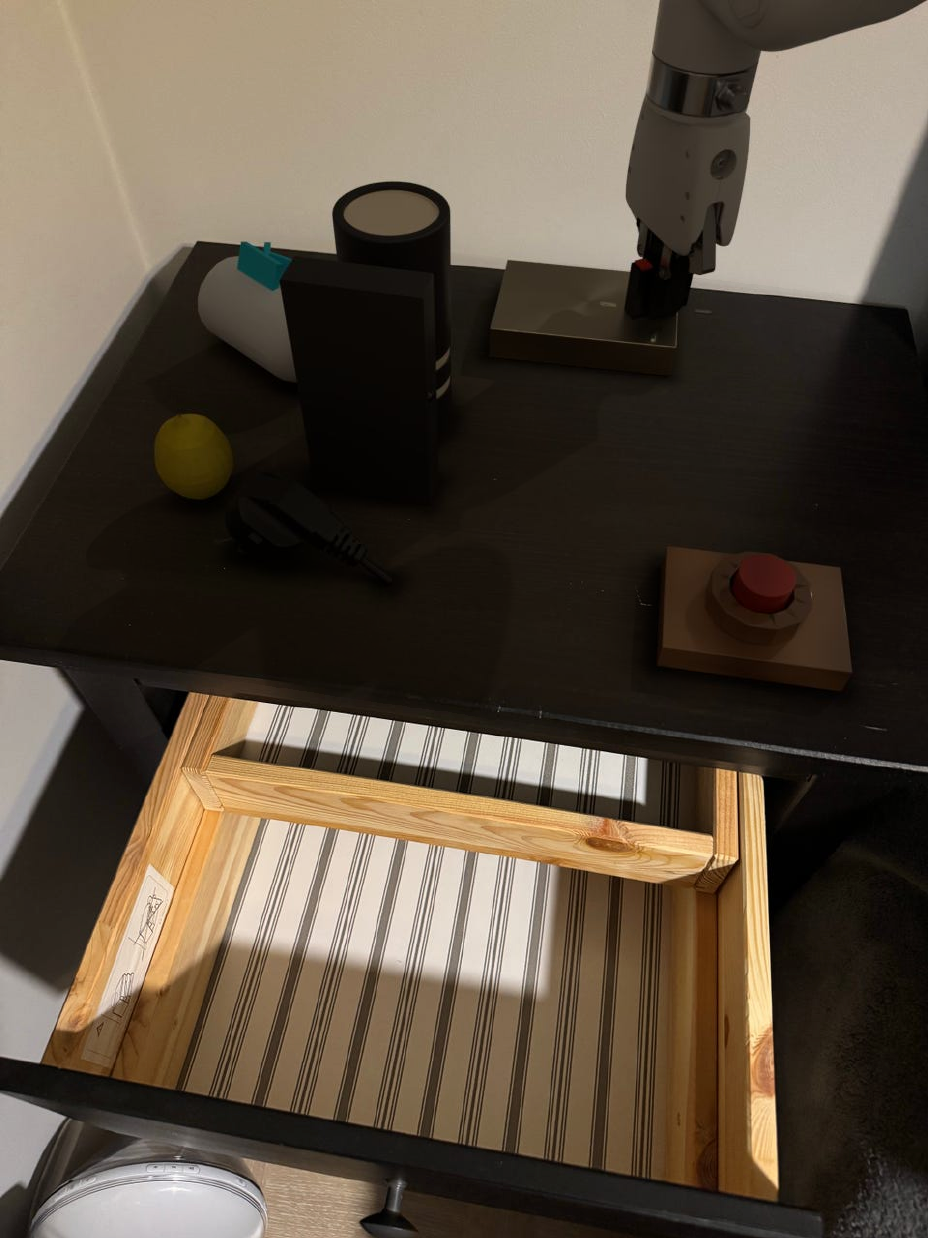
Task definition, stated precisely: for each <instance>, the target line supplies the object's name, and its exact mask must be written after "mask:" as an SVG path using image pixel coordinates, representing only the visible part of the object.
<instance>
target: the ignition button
mask: <svg viewBox="0 0 928 1238" xmlns="http://www.w3.org/2000/svg"><path fill="white" fill-rule="evenodd" d="M779 558H780V557H779ZM779 558H776V557H774V556H770V555H754V556H751V557H748V558H747V559H745V560H744V561H743V562H742V563H741V565H740V567H739V570H738V572H737V575H736V578H735V580H734V583H733V593H734V596H735V598H736V599H737V601H738V602H739V603H740V604H741V605H742V606H744V607H745V608H747V609H749V610H751V611H754V612H757V613H764V614H767V613H774V612H777V611H779V610H781V609H782V608H783V607H784V606H785V605H786V603H787V601H788V599H789V597H790V595H791V593H792V591H793V588H794V586H795V583H796V578H795V574H794V572H793V570H792V569H791V567H790V566H789V565H788V564H787V563H785V562H784V561H782V560H781V559H782V558H781V559H779Z"/></svg>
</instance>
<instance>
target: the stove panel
mask: <svg viewBox="0 0 928 1238" xmlns="http://www.w3.org/2000/svg"><path fill="white" fill-rule="evenodd" d="M629 276H630V270H629V271H628V270H627V271H626V270H617V269H606V268H598V267H597V268H596V267H587V266H586V267H585V266H576V265H567V264H554V263H546V262H535V261H534V262H533V261H526V260H525V261H523V260H516V259H515V260H513V259H507V260H506V265H505V269H504V272H503V276H502V281H501V284H500V288H499V291H498V292H499V293H498V296H497V300H496V304H495V307H494V312H493V316H492V320H491V323H490V327H489V349H488V350H489V353H488V356H489V358H496V359H507V360H515V361H525V362H533V363H544V364H552V365H561V366H570V367H582V368H589V369H598V370H600V369H601V370H607V371H608V370H609V371H617V372H625V373H637V374H646V375H654V376H663V377H670V376H671V373H672V370H673V365H674V360H675V356H676V351H677V340H678V319H679V315H678V313H679V311H678V312H675V313H671V314H667V315H663V316H660V317H656V318H650V317H649V316H648V315H647V316H643V317H639V318H635V319H632V318H631V317H630V316H629V314H628V313H627V312H626V311H625V310H624V306H625V300H626V294H627V288H628V282H629ZM694 314H699V315H701V314H702V315H711V314H712V310H706V309H697V308H695V309H694Z"/></svg>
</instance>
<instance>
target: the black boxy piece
mask: <svg viewBox="0 0 928 1238" xmlns="http://www.w3.org/2000/svg"><path fill="white" fill-rule="evenodd" d="M680 256H682V255H680V254H678V253H677V254H676V258H678V257H680ZM661 258H662V256H658V257H654V258H650V259H646V258H643V259H642V258H638V259H635V260H634V262H631V263H630V264H631V265H630V270H629V272H630V276H629V282H628V288H627V294H626V300H625V306H624V310H625V311H626V312H627V313H628V314H629V316H630V317H631V318H632V319H635V318H639V317H643V316H647V306H648V301H649V295H650V290H651V285H652V279H653V275H654V274H657V273H659V268H660V263H661ZM676 258H675V259H676ZM694 275H695V274H688V279H687V284H686V288H685V293H684V297H683V302H682V306H681V308H683V307H686V306H687V305H688V302H689V297H690V293H691V287H692V284H693V279H694Z"/></svg>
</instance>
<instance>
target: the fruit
mask: <svg viewBox="0 0 928 1238" xmlns="http://www.w3.org/2000/svg"><path fill="white" fill-rule="evenodd" d="M153 445H154V450H153V451H154V453H153V457H154V458H153V459H154V464H155V469H156V472H157V473H158V476H159V477H160V479H161V480H162V481H163V482H164V484H165V485H166V487H168V488H169V489H170V490H171V491H173V492H175V493H176V494H177V495H179V496H181V497H183V498H186V499H191V500H199V501H204V500H206V499H208V498H212V497H214V496H215V495H217V494H219V493H220V492H221V491H222V490H223V489H224V488H225V487H226V485H227V484H228V482H229V481H230V478H231V475H232V473H233V468H234V459H233V457H234V456H233V450H232V447H231V444H230V442H229V439H228V438H227V437H226V435H225V433H224V432H223V431H222V430H221V429H220V428H219V427H218V426H217V424H216V423H215V422H213V421H212V420H211V419H209V418H208V417H206V416H204V415H201V414H198V413H184V414H183V413H178V414H176V415H175V416H173V417H171V418H169V419H168V420H166V421H165V422H164V423H163V424H162V425H161V426H160V428H159V430H158V432H157V434H156V436H155V440H154V444H153Z"/></svg>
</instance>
